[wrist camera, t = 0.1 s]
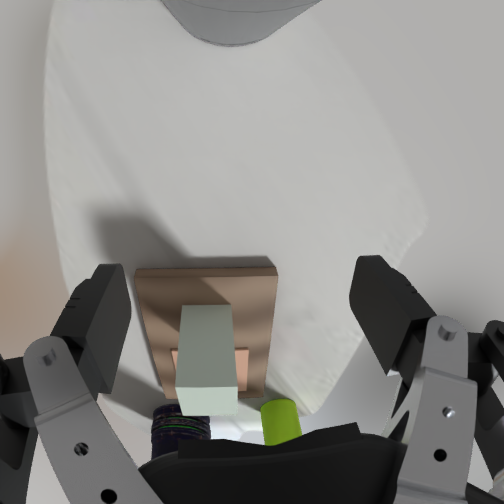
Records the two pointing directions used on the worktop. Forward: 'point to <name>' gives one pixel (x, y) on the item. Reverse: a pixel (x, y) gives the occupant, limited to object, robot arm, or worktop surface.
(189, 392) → the pale mint tall block
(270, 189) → the worktop surface
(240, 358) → the terracotta pad
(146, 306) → the walnut board
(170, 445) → the dark blue ridged cylinder
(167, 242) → the worktop surface
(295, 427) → the lime green stepped cylinder
